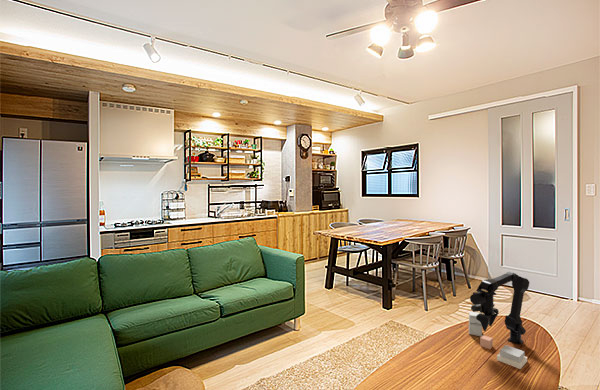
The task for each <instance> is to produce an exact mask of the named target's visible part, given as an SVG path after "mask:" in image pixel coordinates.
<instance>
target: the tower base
mask: <svg viewBox="0 0 600 390" xmlns="http://www.w3.org/2000/svg"><path fill="white" fill-rule="evenodd" d="M496 360H497V361H498V362H501V363H504V364H505V365H509V366H512V367H514V368H516V369H519V370H521V369H522V368H523V367H524V366H525V364H526V363H527V362H528V356H525V355H524V358H523V359H522V360H521V361H520V362H519V363H518V362H515V361H513V360H510V359H507V358H504V357H502V356H500V352H499V353H498V354H497V355H496Z"/></svg>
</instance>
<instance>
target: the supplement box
mask: <svg viewBox="0 0 600 390" xmlns="http://www.w3.org/2000/svg"><path fill="white" fill-rule="evenodd" d="M478 314H480V312H477V311H475V312H473V311H472V310H471V311H470V310H469V311H468V335H473V336H476V337H482V336H483V328H482V325H481V322H480V321H478V320H477V319H476V316H477V315H478ZM481 314H483V313H481Z"/></svg>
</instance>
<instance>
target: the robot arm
mask: <svg viewBox="0 0 600 390" xmlns="http://www.w3.org/2000/svg"><path fill="white" fill-rule="evenodd" d="M510 282H511V286H512V289H513V295H512V299H511V300H512V301H511V306H510V307H511V308H510V311H509V312H510V313H509V314H508V315H505V317H504V325H505V327H506V328H505V329H507V330H509V338H508V339H507V341H508V342H511V343H515V344H516V345H517V344H518V345H521V344H523V342H524V339H522V336H524V335H526V328H525V327H524V326H523V320H522V317H521V312H522V306H523V300H524V296H525V295H524V294H525V292H526V291H528V290H529V287H530V280H529V279H528V278H526V277H522V276H520V275H518V274H517V273H514V272H511V271H507V272H505V273H504V274H502V275H500V276H497V277H495V278H491V279H490V278H489V279H488V278H487V279H483V280H481V282H480V283H479V285H478V287H477V289H476V290H475V292H472V294H470V296H469V300H470V302H471V304H472V305H471V306H470V310H471V312H479V313H480V314H478V315H477V316H476V319H477V320H478V321H480V322H481V325H482V332H483V331H484V332H486V331H487V330H488V327H492V325H493V324H494V322H495V320H496V319H497V317H498V316H499V309H498V308H496V307H495V303H494V296H497V293H496V291H497V290H498V289H499V287H501V286H503V285H505V284H507V283H510ZM481 313H482V314H481Z"/></svg>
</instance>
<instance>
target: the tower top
mask: <svg viewBox="0 0 600 390" xmlns="http://www.w3.org/2000/svg"><path fill="white" fill-rule="evenodd" d="M499 353H500V356H502V357H504V358H507V359H510V360H513V361H515V362H518V363H519V362H520V361H521V360H522V359H523V358H524V356H525V354H526V353H525V350H521V349H519V348H516V347H514V346H513V347H512V346H510V345H506V344H505V345H504V346H503V347H502V348H500V349H499Z"/></svg>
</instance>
